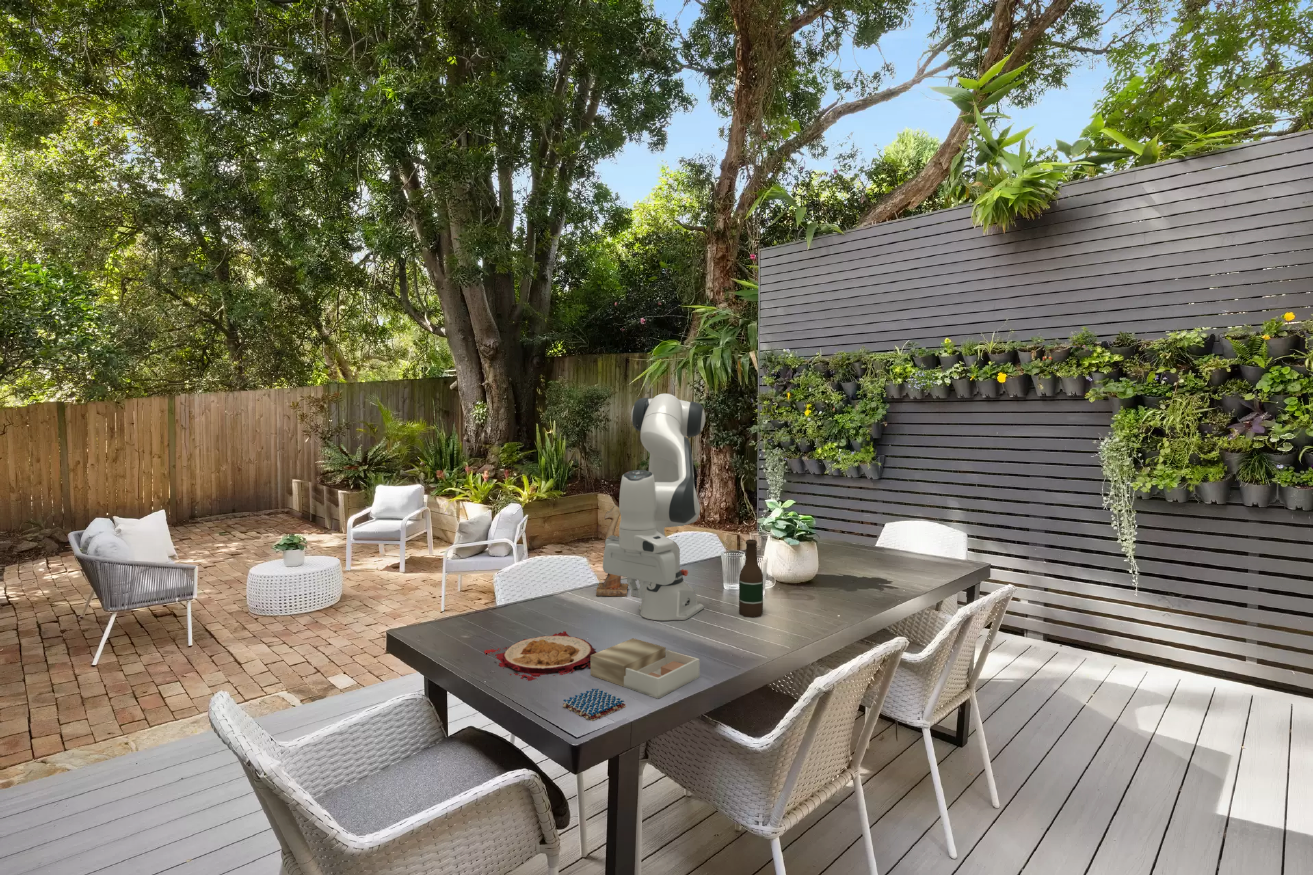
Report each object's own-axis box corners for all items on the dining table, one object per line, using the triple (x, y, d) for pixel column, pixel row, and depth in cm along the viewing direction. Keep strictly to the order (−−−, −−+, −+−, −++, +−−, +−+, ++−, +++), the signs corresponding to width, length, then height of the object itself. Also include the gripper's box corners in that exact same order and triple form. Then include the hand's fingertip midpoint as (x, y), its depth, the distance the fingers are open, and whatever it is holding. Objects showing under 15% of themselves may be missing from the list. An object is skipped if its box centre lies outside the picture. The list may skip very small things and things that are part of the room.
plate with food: (565, 637, 194) (565, 625, 193) (611, 664, 172) (611, 650, 172) (483, 656, 180) (482, 643, 180) (522, 687, 158) (521, 672, 158)
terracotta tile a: (689, 665, 163) (689, 673, 163) (673, 660, 166) (673, 668, 166) (677, 671, 159) (677, 680, 159) (660, 666, 162) (660, 674, 163)
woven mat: (591, 724, 139) (591, 715, 139) (560, 708, 146) (560, 699, 146) (628, 708, 146) (628, 699, 146) (597, 694, 154) (597, 685, 154)
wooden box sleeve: (633, 656, 176) (633, 638, 176) (665, 666, 169) (665, 647, 169) (590, 675, 164) (590, 655, 164) (623, 686, 157) (623, 665, 157)
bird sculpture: (597, 588, 244) (596, 502, 243) (628, 588, 245) (628, 502, 244) (596, 597, 233) (595, 507, 232) (629, 596, 234) (629, 506, 233)
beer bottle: (767, 613, 214) (768, 539, 213) (754, 619, 208) (754, 543, 207) (747, 609, 219) (748, 536, 218) (734, 614, 213) (734, 540, 212)
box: (665, 666, 169) (665, 649, 169) (699, 676, 163) (699, 658, 163) (623, 686, 157) (623, 667, 157) (658, 698, 150) (658, 679, 150)
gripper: (596, 536, 162) (597, 592, 162) (662, 547, 149) (662, 608, 149) (614, 532, 166) (614, 587, 167) (679, 542, 154) (679, 601, 154)
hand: (637, 597), depth 158 cm, fingers closed
